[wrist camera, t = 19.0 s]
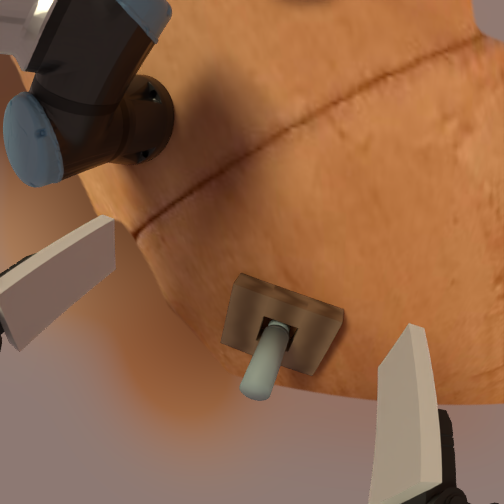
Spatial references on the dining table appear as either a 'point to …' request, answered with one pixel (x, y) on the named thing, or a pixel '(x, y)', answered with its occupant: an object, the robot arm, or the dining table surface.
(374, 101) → the dining table surface
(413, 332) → the robot arm
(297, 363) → the board
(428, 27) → the dining table surface
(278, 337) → the grey rounded cylinder
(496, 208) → the dining table surface
